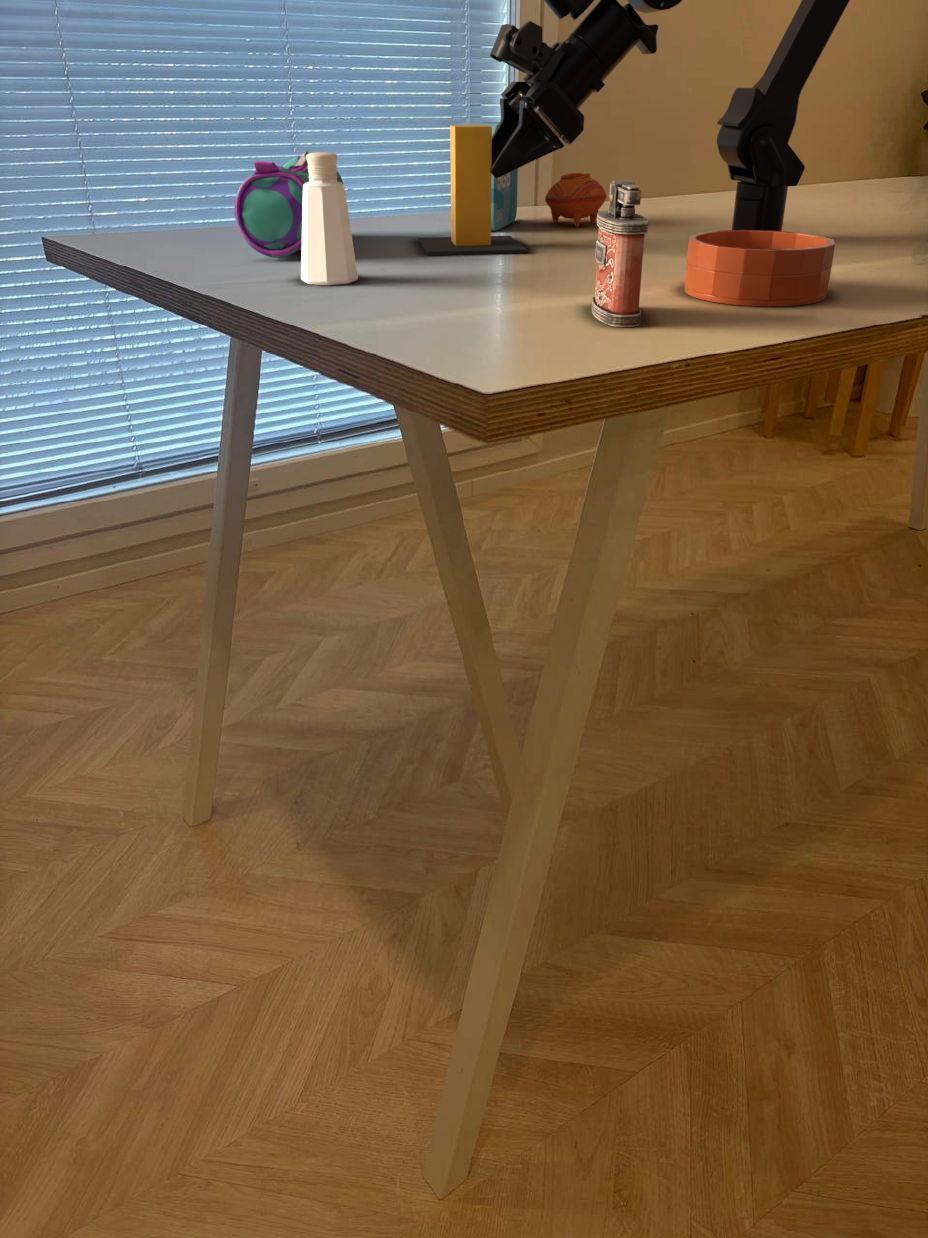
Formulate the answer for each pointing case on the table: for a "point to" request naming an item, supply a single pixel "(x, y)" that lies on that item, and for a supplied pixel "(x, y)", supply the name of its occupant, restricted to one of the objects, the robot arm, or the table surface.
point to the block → (471, 184)
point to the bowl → (758, 267)
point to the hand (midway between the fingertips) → (486, 171)
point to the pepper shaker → (326, 225)
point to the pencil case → (273, 206)
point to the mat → (448, 248)
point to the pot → (575, 197)
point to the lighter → (619, 257)
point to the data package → (502, 193)
